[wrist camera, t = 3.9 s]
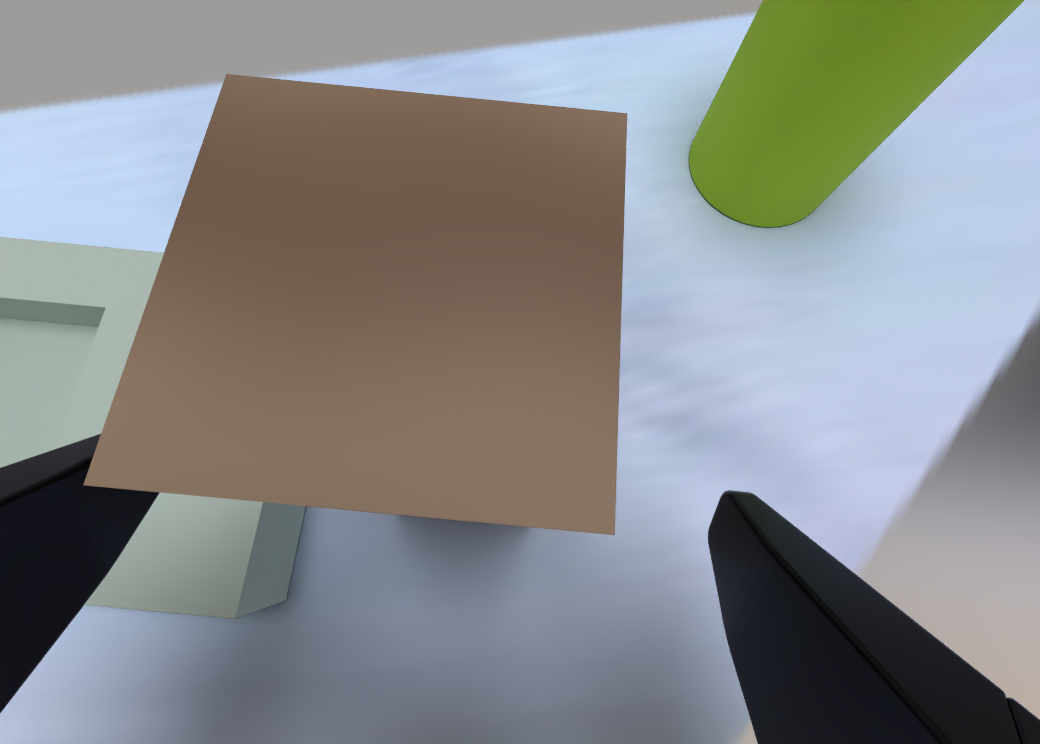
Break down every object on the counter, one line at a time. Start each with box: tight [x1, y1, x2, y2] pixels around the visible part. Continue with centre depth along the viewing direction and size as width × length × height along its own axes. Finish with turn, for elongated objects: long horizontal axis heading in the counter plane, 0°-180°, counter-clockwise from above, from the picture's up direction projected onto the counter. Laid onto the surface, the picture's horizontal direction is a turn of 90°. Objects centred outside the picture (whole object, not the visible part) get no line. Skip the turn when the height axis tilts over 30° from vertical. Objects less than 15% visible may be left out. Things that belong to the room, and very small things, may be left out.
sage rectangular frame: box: [0, 237, 306, 619], centre depth 15 cm, size 18×10×3 cm, turn 85°
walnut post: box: [83, 74, 627, 535], centre depth 11 cm, size 4×4×12 cm
